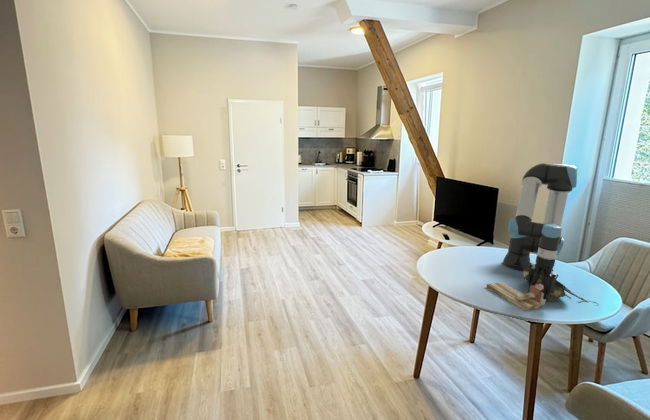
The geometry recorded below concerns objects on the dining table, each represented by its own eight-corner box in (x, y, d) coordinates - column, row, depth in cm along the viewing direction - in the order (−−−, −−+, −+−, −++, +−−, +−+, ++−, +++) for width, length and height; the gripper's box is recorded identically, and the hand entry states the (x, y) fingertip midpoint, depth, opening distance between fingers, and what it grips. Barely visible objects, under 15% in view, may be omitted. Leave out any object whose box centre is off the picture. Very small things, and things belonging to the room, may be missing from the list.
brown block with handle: (537, 298, 168) (540, 283, 166) (546, 303, 163) (549, 288, 161) (511, 302, 163) (513, 287, 161) (519, 307, 158) (522, 292, 156)
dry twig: (545, 284, 186) (545, 281, 185) (562, 284, 187) (563, 281, 186) (580, 306, 162) (581, 303, 162) (600, 306, 163) (601, 303, 163)
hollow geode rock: (524, 286, 192) (508, 267, 190) (543, 272, 189) (527, 253, 188) (553, 310, 164) (535, 288, 163) (576, 295, 162) (558, 272, 160)
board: (501, 285, 181) (501, 281, 180) (541, 307, 159) (542, 303, 158) (486, 287, 178) (486, 284, 177) (525, 310, 156) (526, 306, 155)
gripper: (523, 250, 166) (515, 293, 172) (558, 264, 150) (548, 312, 155) (535, 249, 169) (526, 292, 174) (570, 263, 152) (559, 310, 157)
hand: (536, 301), depth 164 cm, fingers closed on brown block with handle, 5 cm apart
